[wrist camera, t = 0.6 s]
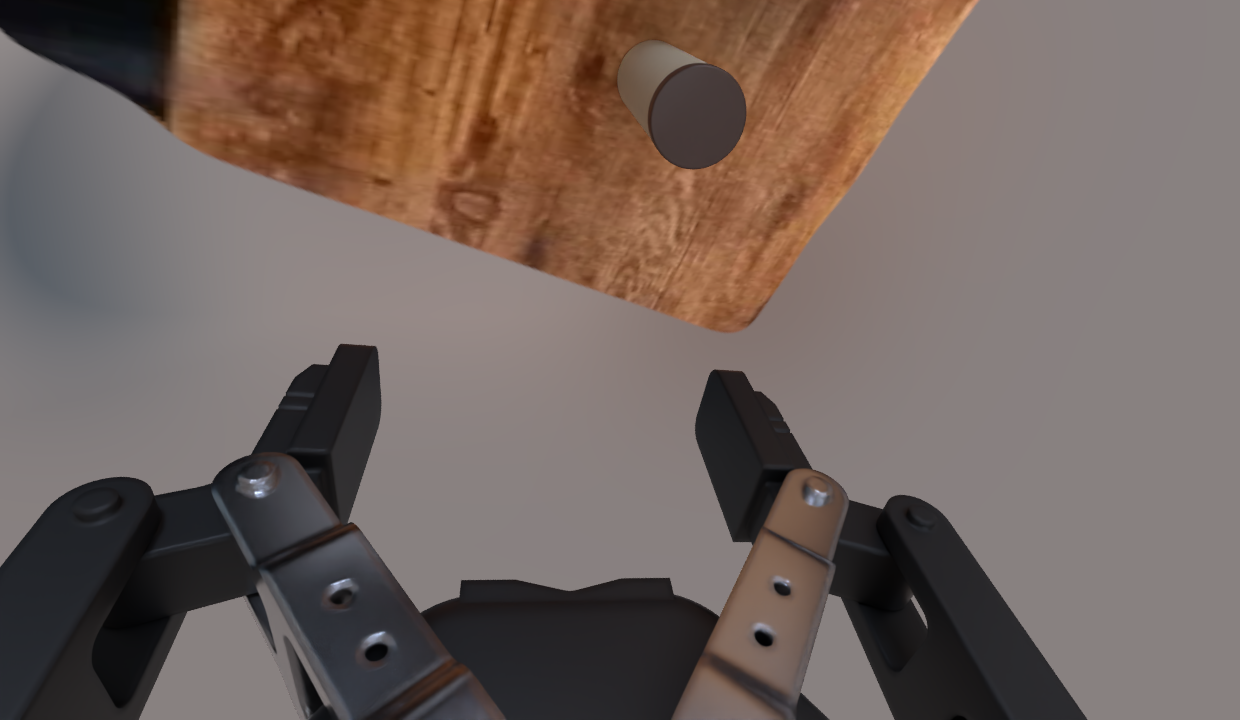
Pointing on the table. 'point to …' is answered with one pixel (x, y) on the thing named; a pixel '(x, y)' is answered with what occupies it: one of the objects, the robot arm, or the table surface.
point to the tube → (682, 103)
